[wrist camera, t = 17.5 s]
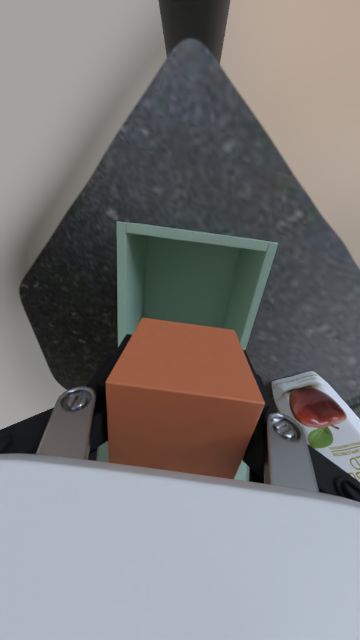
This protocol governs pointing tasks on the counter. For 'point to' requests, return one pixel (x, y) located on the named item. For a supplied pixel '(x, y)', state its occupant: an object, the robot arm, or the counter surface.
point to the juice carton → (321, 418)
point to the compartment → (189, 278)
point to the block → (182, 400)
